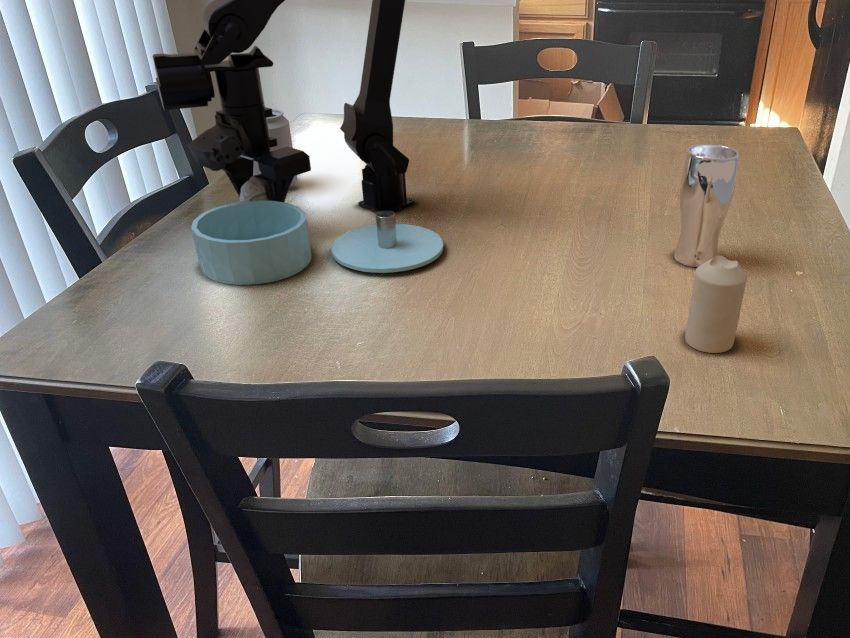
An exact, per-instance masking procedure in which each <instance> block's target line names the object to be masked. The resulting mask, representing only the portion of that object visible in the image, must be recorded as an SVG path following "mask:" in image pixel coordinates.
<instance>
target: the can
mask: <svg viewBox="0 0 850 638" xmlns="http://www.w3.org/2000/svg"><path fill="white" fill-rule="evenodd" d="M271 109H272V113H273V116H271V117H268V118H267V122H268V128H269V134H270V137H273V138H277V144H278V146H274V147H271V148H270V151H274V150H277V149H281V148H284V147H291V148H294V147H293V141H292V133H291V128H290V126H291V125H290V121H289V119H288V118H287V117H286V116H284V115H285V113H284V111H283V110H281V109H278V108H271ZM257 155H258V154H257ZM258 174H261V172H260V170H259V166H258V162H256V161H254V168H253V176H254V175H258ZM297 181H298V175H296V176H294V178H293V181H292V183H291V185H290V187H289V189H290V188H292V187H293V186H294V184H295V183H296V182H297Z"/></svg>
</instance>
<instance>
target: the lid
mask: <svg viewBox="0 0 850 638" xmlns="http://www.w3.org/2000/svg"><path fill="white" fill-rule="evenodd" d="M330 249H331V256H332V258H333V259H334V260H335V262H336V263H338V264H340V265H341V266H343V267H346V268H349V269H352V270H355V271H359V272H364V273H375V274H376V273H379V274H386V273H387V274H388V273H399V272H400V273H401V272H405V271H410V270H414V269H418V268H422V267H424V266H426V265H428V264H431V263H433V262H434V261H435V260H438V259H439V257H440V256H441V255H442V253H443V252H444V241H443V239H442V237H441V236H440V235H439V234H438V233H436V232H435V231H433V230H431V229H428V228H425V227H423V226H420V225H419V226H418V225H414V224H407V223H396V213H395V211H394V212H392V211H379V212H377V211H376V213H375V224H372V225H366V226H362V227H357V228H354V229H352V230H349V231H347V232H344V233H343V234H341V235H340V236H338V237H337V238H336V239H335V240H334V241H333V242H332V244H331V248H330Z"/></svg>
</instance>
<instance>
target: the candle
mask: <svg viewBox="0 0 850 638" xmlns="http://www.w3.org/2000/svg"><path fill="white" fill-rule="evenodd" d="M747 280H748V275H747V273H746V272H745V270H744V269H743V268H742V266H741V264H740V263H739V261H738V260H729V259H728V258H727V257H726V256H723V255H719V256H715V257H714V258H712V259H711V260H709V261H707V262H705V263H703V264H702V265H700V266H699V267H698V268H697V267H696V269H695V271H694V278H693V284H692V291H691V297H690V302H689V308H688V316H687V320H686V321H687V322H686V328H685V334H684V339H685V342H686V344H687V345H689V346H690V347H691V348H693V349H695V350H697V351H700V352H703V353H709V354H719V353H724V352H727V351H729V350H731V349H732V348H733V346H734V343H735V339H736V336H737V335H736V334H737V330H738V325H739V320H740V315H741V309H742V306H743V300H744V296H745V295H744V294H745V291H746V285H747Z"/></svg>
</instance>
